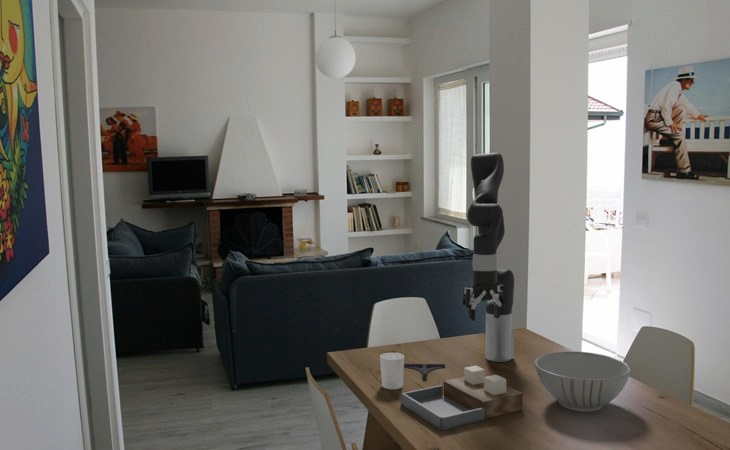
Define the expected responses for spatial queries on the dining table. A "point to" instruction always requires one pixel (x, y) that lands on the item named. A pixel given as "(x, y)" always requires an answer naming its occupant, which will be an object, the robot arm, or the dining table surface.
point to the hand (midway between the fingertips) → (484, 319)
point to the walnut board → (482, 397)
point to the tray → (440, 408)
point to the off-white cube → (495, 384)
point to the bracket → (424, 368)
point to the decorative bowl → (582, 378)
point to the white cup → (392, 370)
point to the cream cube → (474, 375)
